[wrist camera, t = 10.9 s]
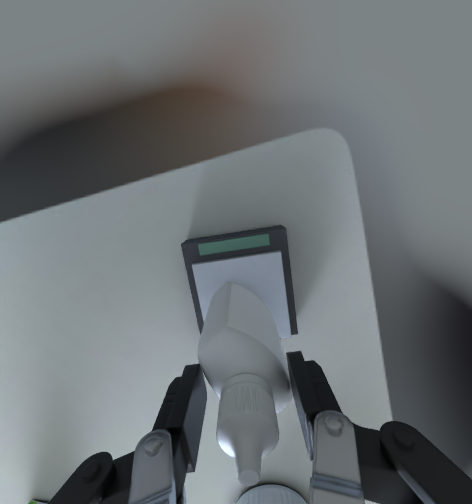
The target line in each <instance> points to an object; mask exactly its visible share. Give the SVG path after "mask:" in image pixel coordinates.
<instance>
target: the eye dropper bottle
mask: <svg viewBox="0 0 472 504" xmlns="http://www.w3.org/2000/svg"><path fill="white" fill-rule="evenodd" d="M198 360H199V363H200V366H201V368H202V371H203V373H204V375H205V377H206V379H207V380H208V382H209V384H210V385H211V387H212V388H213V390H214V391H215V392H216V393H217V395H218V396H219V397H220V403H219V412H218V422H217V432H216V434H217V440H218V443H219V445H220V447H221V448H222V449H223V450H224V451H225V452H226V453H227V454H228V455H230V456H232V457H234V458H235V460H236V467H237V473H238V479H239V481H240V483H241V484H243V485H245V486H253V485H255V484H257V483H258V482H259V479H260V469H261V459H262V458H263V457H265V456H266V455H268V454H269V453H270V452H271V451H272V450H273V449H274V448H275V447H276V445H277V443H278V440H279V428H278V422H277V416H276V414H277V413H278V412H280V411H281V410H282V409H284V408H285V407H286V406H287V405H288V404H289V402H290V401H291V399H292V396H293V393H292V389H291V384H290V378H289V371H288V367H287V363H286V359H285V356H284V352H283V348H282V345H281V341H280V337H279V334H278V330H277V326H276V323H275V320H274V318H273V316H272V314H271V312H270V310H269V309H268V307H267V306H266V304H265V303H264V302H263V301H262V300H261V299H260V297H258V296H257V295H256V294H255V293H254V292H252V291H251V290H249V289H248V288H246V287H244V286H242V285H240V284H238V283H235V282H227V283H225V284H224V285H223V286H222V287H221V288H220V289H219V290H218V291H216V292H215V293H214V294H213V296H212V298H211V301H210V305H209V308H208V312H207V315H206V319H205V322H204V326H203V329H202V333H201V337H200V341H199V345H198Z"/></svg>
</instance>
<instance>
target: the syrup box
mask: <svg viewBox="0 0 472 504" xmlns="http://www.w3.org/2000/svg"><path fill="white" fill-rule="evenodd" d="M28 504H47V503H43V502H38V501H35V500H31V501H30V502H29V503H28Z"/></svg>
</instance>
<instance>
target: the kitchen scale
mask: <svg viewBox="0 0 472 504" xmlns="http://www.w3.org/2000/svg"><path fill="white" fill-rule="evenodd" d="M181 247H182V251H183V256H184V261H185V265H186V270H187V275H188V279H189V284H190V289H191V293H192V298H193V303H194V307H195V312H196V317H197V321H198V326H199V331H200V335H201V333H202V329H203V326H204V322H205V319H206V315H207V312H208V308H209V305H210V301H211V298H212V296H213V294H214V293H215V292H216V291H218V290H219V289H220V288H221V287H222V286H223V285H224V284H225V283H227V282H235V283H238V284H240V285H242V286H244V287H246V288H248V289H249V290H251V291H252V292H254V293H255V294H256V295H257V296H258V297H260V299H261V300H262V301H263V302H264V303H265V304H266V306H267V307H268V309H269V310H270V312H271V314H272V316H273V318H274V320H275V323H276V326H277V330H278V334H279V337H280V338H285V337H291V335H295V334H298V330H297V321H296V312H295V304H294V295H293V287H292V278H291V269H290V261H289V252H288V244H287V235H286V228H285V227H284V226H282V225H279V226H273V227H267V228H260V229H254V230H248V231H241V232H235V233H228V234H222V235H216V236H209V237H203V238H197V239H190V240H186V241H185V242H183V243H182V244H181Z"/></svg>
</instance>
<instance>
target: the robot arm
mask: <svg viewBox="0 0 472 504" xmlns="http://www.w3.org/2000/svg"><path fill="white" fill-rule="evenodd" d="M286 354H287V362H288V370H289V378H290V384H291V389H292V393H293V397H294V401H295V405H296V408H297V412H298V416H299V420H300V424H301V428H302V432H303V436H304V439H305V443H306V447H307V451H308V455H309V459H310V461H312V460H313V473H312V477H311V479H310V493H309V504H365V500H364V499H366V500H369V501H373V502H376V503H379V504H472V480H471V479H470V477H468V476H467V475H466V474H465V473H464V472H463V471H462V470H461V469H460V468H458V467H457V466H456V465H455V464H454V463H453V462H452V461H451V460H450V459H449V458H447V457H446V456H445V455H444V454H443V453H442V452H441V451H440V450H439V449H438V448H436V447H435V446H434V445H433V444H432V443H431V442H430V441H429V440H428V439H427V438H425V437H424V436H423V435H422V434H421V433H420V432H418V431H417V430H416V429H415V428H413V427H411V426H410V425H408V424H405V423H402V422H397V421H390V422H386V423H385V424H383V425H382V426H381V428H380V431H379V430H373V429H368V428H364V427H361V426H358V425H356V424H354V423H352V422H351V421H350V420H349V418H348V417H346V416H345V415H344V414H343V413H342V411H341V409H340V407H339V405H338V403H337V400H336V398H335V396H334V394H333V392H332V390H331V387H330V385H329V384H328V381H327V379H326V377H325V375H324V372H323V370H322V368H321V367H320V366H319V365H318V364H317V363H316V362H315V361H314V360H312V361H304V358H303V355H302V353H301V351H296V352H288V353H286ZM206 402H207V391H206V385H205V381H204V376H203V372H202V368H201V366H200V364H193V365H186V366H185V368H184V371H183V374H182V377H176V378H175V379H174V380H173V381H172V383H171V384H170V385H169V387H168V390H167V392H166V396H165V398H164V400H163V404H162V406H161V408H160V411H159V413H158V416H157V419H156V421H155V424H154V427H153V429H152V431H151V432H150V433H148V434H147V435H145V436H144V437H143V438H142V439H141V440H140V442H139V443H138V445H137V446H136V449H135V451H133V452H131V453H129V454H127V455H124V456H122V457H120V458H117V459H115V460H113V459H112V456H111V454H109V453H108V452H99V453H96V454H94V455H92V456H90V457H89V458H87V459H86V460H85V461H84V462H83V463H82V464H81V465H80V466H79V467H78V468H77V469H76V470H75V472H74V473H73V474H72V475H71V476H70V478H69V479H68V480H67V481H66V482H65V484H64V485H63V486H62V487H61V488H60V490H59V491H58V492H57V493H56V494H55V496H54V497H53V498H52V499H51V500H50V502H49V503H48V504H186V492H185V486H184V482H185V477H186V473H189V472H195V467H196V461H197V455H198V450H199V444H200V438H201V432H202V426H203V420H204V414H205V408H206Z"/></svg>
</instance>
